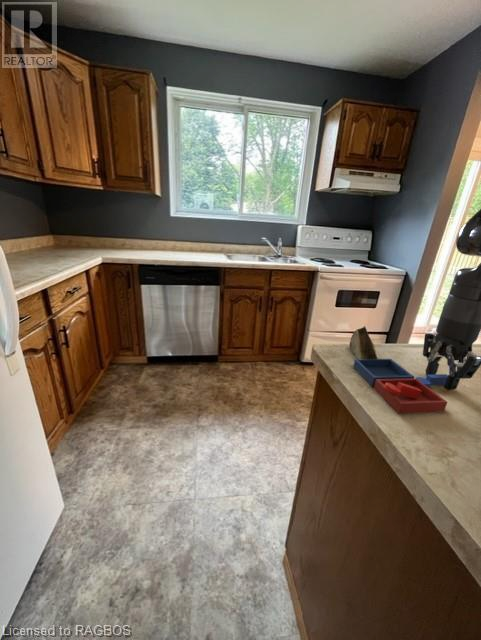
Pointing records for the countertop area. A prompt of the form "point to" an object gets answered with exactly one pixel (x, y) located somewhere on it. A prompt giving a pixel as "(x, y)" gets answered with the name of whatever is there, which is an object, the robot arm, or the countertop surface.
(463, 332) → the robot arm
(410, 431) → the countertop surface
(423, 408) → the red tray
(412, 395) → the red spoon
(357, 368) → the blue tray
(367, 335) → the rock
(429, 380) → the blue spoon
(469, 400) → the countertop surface
